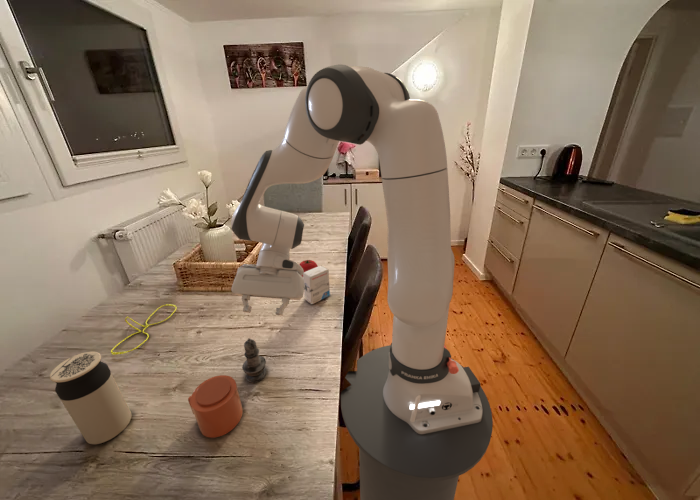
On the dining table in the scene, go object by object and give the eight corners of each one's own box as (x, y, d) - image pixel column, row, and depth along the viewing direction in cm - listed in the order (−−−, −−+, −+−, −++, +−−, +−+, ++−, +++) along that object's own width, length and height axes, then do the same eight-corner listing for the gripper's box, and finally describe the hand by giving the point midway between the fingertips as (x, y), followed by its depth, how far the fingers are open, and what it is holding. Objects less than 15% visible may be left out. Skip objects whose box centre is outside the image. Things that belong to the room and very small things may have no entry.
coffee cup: (248, 399, 67) (241, 372, 63) (233, 437, 59) (225, 409, 55) (205, 399, 67) (196, 373, 64) (184, 437, 59) (172, 409, 55)
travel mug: (140, 410, 65) (112, 350, 58) (112, 445, 58) (76, 382, 51) (107, 409, 65) (75, 350, 58) (75, 445, 58) (34, 381, 51)
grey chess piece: (263, 362, 78) (256, 327, 73) (271, 375, 73) (264, 339, 68) (241, 372, 74) (233, 336, 70) (248, 387, 70) (240, 350, 65)
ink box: (322, 291, 111) (320, 264, 106) (330, 296, 107) (329, 268, 103) (304, 299, 106) (301, 272, 101) (312, 305, 102) (309, 277, 97)
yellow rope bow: (131, 357, 80) (125, 344, 79) (98, 357, 81) (92, 344, 79) (182, 306, 103) (178, 295, 101) (156, 306, 104) (152, 295, 102)
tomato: (317, 281, 118) (316, 264, 115) (296, 281, 118) (294, 264, 115) (320, 271, 126) (318, 255, 123) (300, 271, 126) (298, 255, 123)
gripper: (233, 260, 80) (221, 308, 75) (302, 263, 76) (294, 314, 71) (244, 267, 85) (233, 312, 80) (308, 270, 82) (301, 318, 77)
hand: (262, 313), depth 76 cm, fingers open, 8 cm apart
